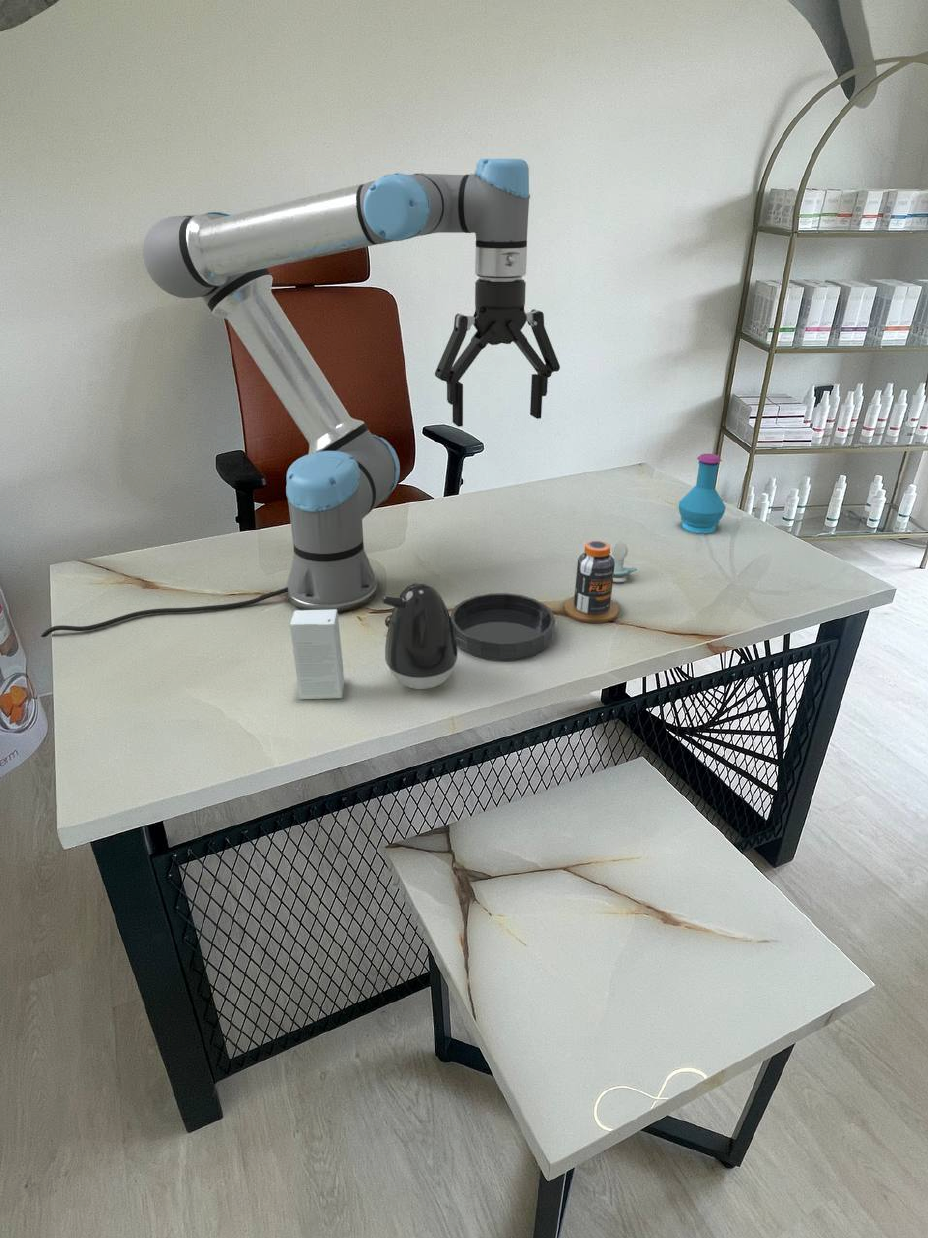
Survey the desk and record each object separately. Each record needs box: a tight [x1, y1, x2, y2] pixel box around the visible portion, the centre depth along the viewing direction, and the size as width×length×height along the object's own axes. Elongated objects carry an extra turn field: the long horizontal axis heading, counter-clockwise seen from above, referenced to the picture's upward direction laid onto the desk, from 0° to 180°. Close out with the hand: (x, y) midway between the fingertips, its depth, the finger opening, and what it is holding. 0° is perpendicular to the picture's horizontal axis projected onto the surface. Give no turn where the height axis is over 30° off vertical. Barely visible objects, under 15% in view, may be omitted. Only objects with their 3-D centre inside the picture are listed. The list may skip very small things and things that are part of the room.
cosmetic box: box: [289, 609, 345, 700], centre depth 110 cm, size 6×4×12 cm
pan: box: [449, 592, 556, 662], centre depth 126 cm, size 16×16×3 cm
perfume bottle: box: [678, 453, 726, 534], centre depth 161 cm, size 9×9×15 cm
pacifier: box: [612, 541, 638, 583], centre depth 143 cm, size 7×6×6 cm
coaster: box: [563, 595, 620, 624], centre depth 134 cm, size 9×9×1 cm
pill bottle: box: [573, 539, 615, 614], centre depth 131 cm, size 6×6×11 cm
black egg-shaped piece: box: [381, 582, 458, 690], centre depth 112 cm, size 10×10×15 cm
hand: (497, 420), depth 129 cm, fingers open, 13 cm apart
